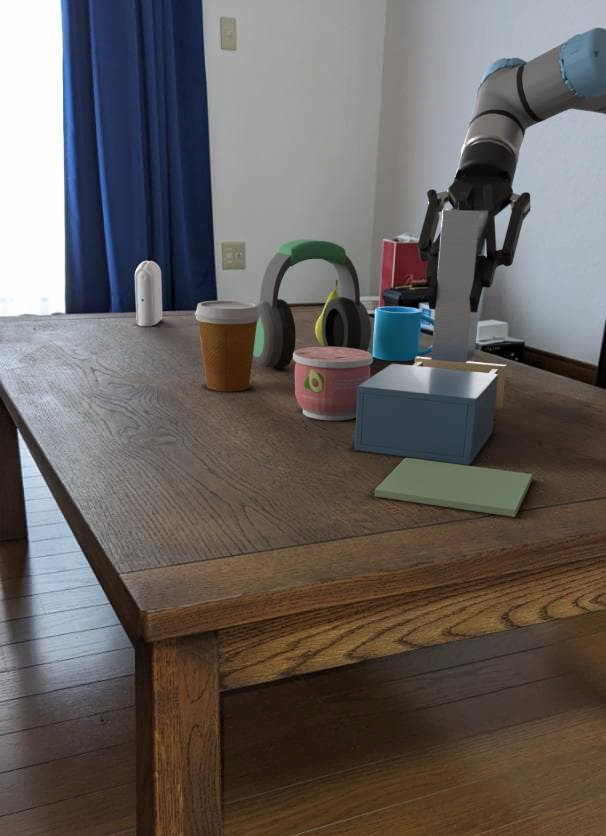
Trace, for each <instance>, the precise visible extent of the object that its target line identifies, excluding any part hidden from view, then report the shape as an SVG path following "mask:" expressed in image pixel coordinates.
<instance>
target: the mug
mask: <svg viewBox="0 0 606 836" xmlns="http://www.w3.org/2000/svg"><path fill="white" fill-rule="evenodd" d="M422 321H425V322H428V323H429V324H430V325H432V326H433V327H434V318H432V317H430V316H427V315H425V314H423V310H422V309H420V308H416V307H408V306H394V305H393V306H379V307H375V309H374V325H373V326H374V327H373V341H372V355H373V358H375V359H378V360H383V361H388V362H389V361H392V362H410V361H415V358H416V357H420V356H424V355H428V354H430V353H432V345H431V346H429V347H428V348H425V349H423V350H420V343H421V342H420V341H421V329H422Z"/></svg>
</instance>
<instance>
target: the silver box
mask: <svg viewBox="0 0 606 836" xmlns="http://www.w3.org/2000/svg"><path fill="white" fill-rule="evenodd" d="M487 220H488V210H480V209H474V201H459V204H458V209H452V208H447V209H445V208H444V209H443V211H442V212H441V223H440V224H441V225H440V226H441V227H440V232H441V237H440V250H439V263H438V276H437V290H436V303H435V309H434V316H433V317H434V318H433V320H434V326H433V328H432V329H433V330H432V331H433V332H432V344H431V346H432V352H431V356H430V358H431V360H440V361H451V362H463V363H466V362H467V361H470V360H471V359H472V358H473V357H474V356H475V355H476V347H477V346H476V345H477V336H478V335H477V334H478V326H479V325H478V324H479V314H480V306H481V305H480V304H481V300H480V301H479V305H478V310H477V312H471V310H470V300H469V297H470V293H471V289H472V285H473V281H474V277H475V273H476V269H477V265H478V261H479V257H480V256H485V253H486V230H487Z"/></svg>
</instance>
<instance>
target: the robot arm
mask: <svg viewBox="0 0 606 836" xmlns="http://www.w3.org/2000/svg"><path fill="white" fill-rule="evenodd" d="M568 110H569V111H570V110H576V111H584V112H592V113H598V114H603V115H606V28H604V27H595V28H592V29H590V30H587V31H585V32H583V33H580V34H579V33H578V34H576V35H573V36H572V37H570V38H568V39H567V40H566V41H564V42H562V43H561V44H559V45H556V46H555V47H553V48H551V49H549V50H547V51H546V52H544V53H542V54H540V55H538V56H537V57H534V58H533V59H531V60H528V61H526V60H525V59H522V58H519V57H512V58H505V57H503V58H500V59H498V60H495V61H494V62H492V63H491V64H490V65H489V67H487V69H486V70H485V71H484V73H483V76H482V80H481V82H480V83H479V86H478V87H477V91H476V93H475V101H474V106H473V110H472V113H471V117H470V121H469V125H468V127H467V132H466V135H465V139H464V141H463V145H462V148H461V154H460V156H459V160H458V164H457V167H456V171H455V174H454V178H453V181H452V184H450V185H449V187H448V188H447V189H446V190H445V191H441V192H437V191H436V189H433V188H432V189H429V190H427V192H426V196H427V203H428V205H427V208H426V213H425V216H424V219H423V224H422V228H421V231H420V235H419V239H418V241H417V242H418V243H417V250H418V256H419V260H420V261H421V262H423V263H424V262H427V264H426V269H425V272H424V273H425V274H424V275H425V278H426V284H428V285H429V286H428V289H427V293H426V297H427V303H428V310H435V303H436V290H437V276H438V263H439V250H440V237H441V231H440V232H439V233H438V235H437V237H436V234H437V230H438V227H439V222H440V218H441V215H440V214H441V213H442V211H443V210H444V209H445V206H446V204H447V203H448V202H449V204H450V206H451V207H452V208H451V209H458V204H459V201H474V209H480V210H488V220H487V230H486V241H485V253H486V255H484V256H480V257H479V261H478V265H477V269H476V273H475V277H474V281H473V285H472V289H471V293H470V297H469V300H470V310H471V312H477V310H478V305H479V301H480V302H481V297H482V294H483V289H484V288H491V287H492V286H493V282H494V278H495V274H496V270H497V268H498V267H500V266H504V267H510V266H512V265H513V263H514V258H515V254H516V251H517V247H518V242H519V239H520V234H521V230H522V226H523V222H524V220H525V218H526V217H527V216H528V214H529V213H531V193H530V192H528V191H525V192H522V193H521V194H517V193H514V190H513V183H514V181H515V175H516V173H517V172H516V171H517V165H518V163H519V159H520V154H521V150H522V146H523V143H524V139H525V134H526V130H527V129H529V128H530V127H532V126H534V125H537V124H539V123H541V122H545V121H546V120H548V119H550V118H552V117H555V116H557V115H559V114H561V113H564V112H567V111H568ZM508 206H510V211H511V212H510V217H509V219H508V220H509V221H508V224H507V229H506V232H505V237H504V240H503V244H502V248H501V249H498V250H497V234H496V233H497V232H496V218H495V217H496V216H497V215H499V214H500V213H501V212H502V211H504V210H505V209H506V208H507V207H508ZM435 237H436V239H435ZM479 306H480V305H479Z"/></svg>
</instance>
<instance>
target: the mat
mask: <svg viewBox="0 0 606 836" xmlns="http://www.w3.org/2000/svg"><path fill="white" fill-rule="evenodd" d="M532 481H533V473H526V472H518V471H511V470H504V469H503V470H502V469H497V468H494V469H493V468H488V467H481V466H473V465H464V464H457V463H449V462H442V461H434V460H426V459H419V458H411V457H404V459H403V460H402V461H400V463H399V464H397V466H396V467H395V468H394V469H393V470H392V471H391V472H390V473H389V474H388V475H387V476H386V477H385V478H384V479H383V481H382V482H381V483H380V484H379V485H377V487H376V488H375V489H374V497H375V498H383V499H389V500H394V501H395V500H396V501H403V502H408V503H409V502H410V503H416V504H423V505H430V506H436V507H444V508H449V509H450V508H451V509H457V510H464V511H470V512H477V513H484V514H490V515H491V514H492V515H498V516H504V517H511V518H516V516H517V514H518V512H519V510H520V508H521V506H522V503H523V502H524V501H523V500H524V498H525V497H526V495H527V492H528V491H529V488H530V486H531V483H532Z"/></svg>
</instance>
